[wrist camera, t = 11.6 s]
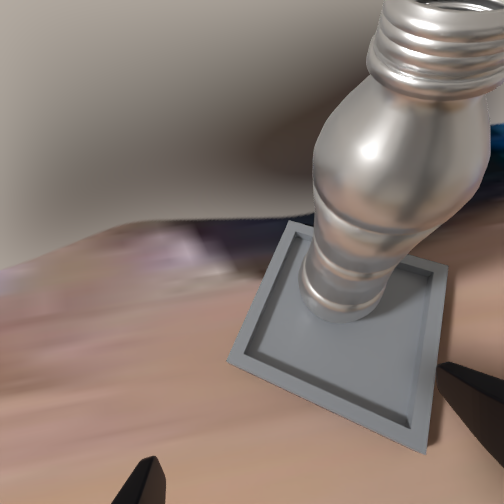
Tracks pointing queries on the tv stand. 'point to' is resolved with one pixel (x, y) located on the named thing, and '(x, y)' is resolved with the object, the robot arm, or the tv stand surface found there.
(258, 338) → the grey tray
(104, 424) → the tv stand surface
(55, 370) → the tv stand surface
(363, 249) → the plastic bottle
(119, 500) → the robot arm
